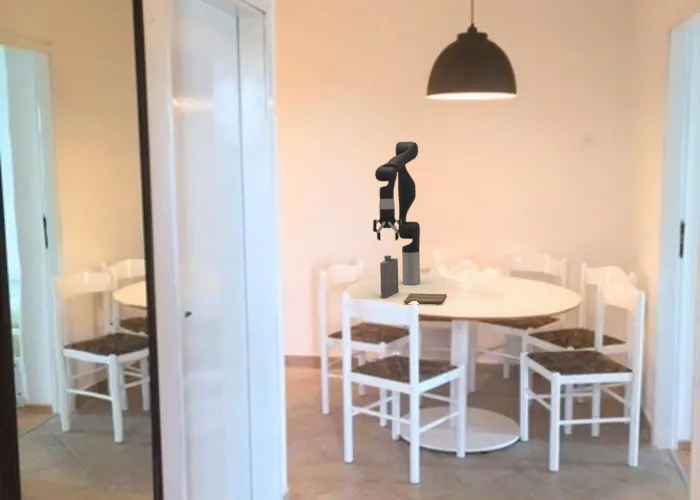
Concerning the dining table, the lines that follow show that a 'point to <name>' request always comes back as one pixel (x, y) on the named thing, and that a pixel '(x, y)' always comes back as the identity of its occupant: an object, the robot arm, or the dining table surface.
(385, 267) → the hip flask
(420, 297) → the walnut board
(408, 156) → the robot arm
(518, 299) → the dining table surface
